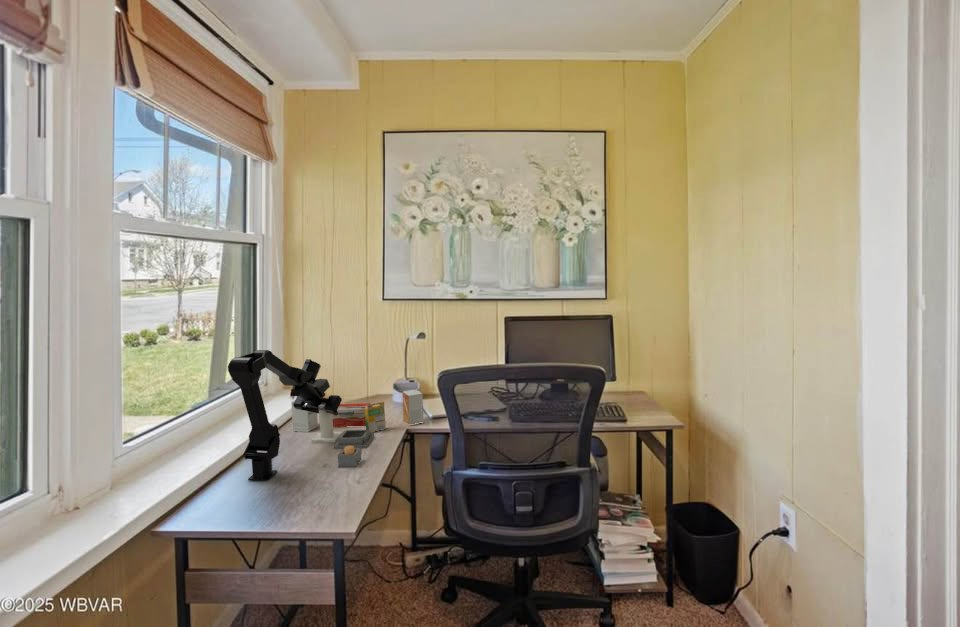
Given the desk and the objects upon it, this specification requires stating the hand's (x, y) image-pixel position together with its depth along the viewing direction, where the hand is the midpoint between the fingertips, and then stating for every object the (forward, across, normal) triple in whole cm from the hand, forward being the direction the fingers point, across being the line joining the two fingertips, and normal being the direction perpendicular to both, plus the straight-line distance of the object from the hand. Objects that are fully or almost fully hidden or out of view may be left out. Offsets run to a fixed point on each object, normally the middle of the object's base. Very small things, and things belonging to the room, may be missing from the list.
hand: (328, 413), depth 183 cm
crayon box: (+15, -13, -2) cm, 20 cm away
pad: (+6, 0, +8) cm, 10 cm away
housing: (+5, -13, +8) cm, 16 cm away
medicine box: (+19, +1, -5) cm, 19 cm away
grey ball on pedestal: (+5, 0, +7) cm, 9 cm away
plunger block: (-7, -24, +20) cm, 32 cm away
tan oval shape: (-7, -24, +20) cm, 32 cm away
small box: (+25, -23, -11) cm, 36 cm away
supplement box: (+11, +16, +3) cm, 20 cm away
